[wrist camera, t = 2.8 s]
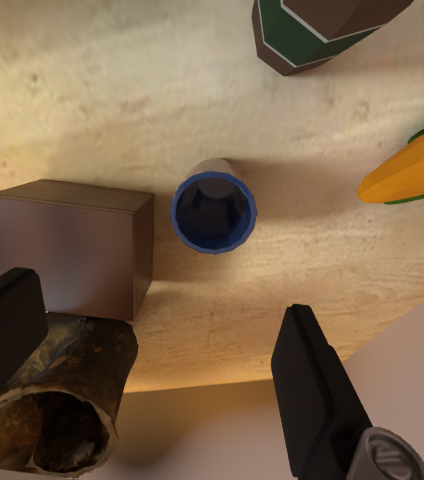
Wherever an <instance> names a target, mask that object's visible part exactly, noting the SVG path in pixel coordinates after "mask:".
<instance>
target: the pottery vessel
mask: <svg viewBox="0 0 424 480" xmlns="http://www.w3.org/2000/svg"><path fill="white" fill-rule="evenodd" d="M46 316H47V322H48V328H49V331H48V335H47V337H46V338H45V340H44V341H43V342H42V343H41V344H40V345H39V347H38V348H37V349H36V350H35V351H34V352H33V353H32V355H31V356H30V357H29V358H28V359H27V360H26V361H25V363H24V364H23V365H22V366H21V367H20V368H19V370H18V371H17V372H16V373H15V374H14V375H13V376H12V378H11V379H10V380H9V381H8V382H7V383H6V385H5V386H4V387H3V388H2V389H1V390H0V469H1V470H9V471H16V472H24V473H32V474H40V475H47V476H55V477H63V478H69V477H70V478H71V477H72V478H73V479H75V478H79V475H83V473H90V472H91V471H93V470H94V468H98V467H101V466H102V465H103V464H104V463H105V462H106V461H107V460H108V458H109V456H110V455H111V453H113V452H115V451H116V448H117V446H118V445H119V436H118V434H117V431H116V428H115V422H116V417H117V413H118V410H119V405H120V402H121V398H122V395H123V391H124V387H125V383H126V380H127V377H128V374H129V372H130V370H131V368H132V366H133V364H134V362H135V360H136V357H137V353H138V346H139V345H138V344H137V339H136V336H135V334H134V332H133V326H131V325H129V324H128V323H126V322H124V321H123V320H118V319H109V318H101V317H92V316H84V315H75V314H67V313H58V312H50V311H49V312H48V313H46Z"/></svg>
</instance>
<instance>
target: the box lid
mask: <svg viewBox="0 0 424 480" xmlns="http://www.w3.org/2000/svg"><path fill="white" fill-rule="evenodd" d="M14 267H22V268H30V269H34V270H35V272H36V273H37V274H38V275H39V277H40V282H41V288H42V294H43V299H44V305H45V311H50V312H58V313H67V314H75V315H84V316H92V317H101V318H109V319H118V320H126V321H134V319H135V317H136V234H135V212H134V211H125V210H117V209H109V208H101V207H93V206H85V205H77V204H69V203H61V202H53V201H45V200H37V199H29V198H21V197H12V196H4V195H0V276H1V275H2V274H4V273H5V272H7V271H9V270H10V269H12V268H14Z"/></svg>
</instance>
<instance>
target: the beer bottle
mask: <svg viewBox="0 0 424 480" xmlns="http://www.w3.org/2000/svg"><path fill="white" fill-rule="evenodd" d="M413 1H414V0H255V1H254V5H253V11H252V22H253V29H254V35H255V42H256V49H257V56H258V57H259V58H260V59H261V60H263V61H264V62H265V63H267V64H268V65H269V66H271V67H272V68H273V69H275V70H276V71H277V72H279V73H280V74H281V75H283V76H286V75H290V74H293V73H297V72H300V71H304V70H307V69H311V68H314V67H317V66H320V65H322V64H324V63H326V62H327V61H329V60H330V59H332V58H333V57H335V56H337V55H338V54H340V53H341V52H343V51H344V50H346V49H348V48H349V47H351V46H352V45H354V44H356V43H357V42H359V41H360V40H362V39H363V38H365V37H367V36H368V35H370V34H371V33H373V32H374V31H376V30H378V29H379V28H381V27H382V26H384V25H385V24H387V23H388V22H390V21H391V20H392V19H393V18H395V17H396V16H397V15H398V14H400V13H401V12H402V11H403V10H405V9H406V8H407V7H408V6H410V5H411V3H412V2H413Z"/></svg>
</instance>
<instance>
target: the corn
mask: <svg viewBox="0 0 424 480" xmlns="http://www.w3.org/2000/svg"><path fill="white" fill-rule="evenodd" d="M357 197H358V198H359V199H361V200H362V201H363V202H368V203H384V204H400V203H405V202H410V201H414V200H419V199H423V198H424V129H422V130H421V131H419V132H418V133H417V134H415V135H414V136H412V137H411V138H410V140H409V141H408V145H407V146H406V147H404V148H403V149H402V150H400V151H399V152H398V153H397V154H395V155H394V156H393V157H391V158H390V159H389V160H387V161H386V162H385V163H383V164H382V165H381V166H379V167H378V168H377V169H376V170H374V171H373V172H372V173H370V174H369V175H368V176H366V177H365V178H364V180H363V181H362V183H361V184H360V186H359V187H358V188H357Z"/></svg>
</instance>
